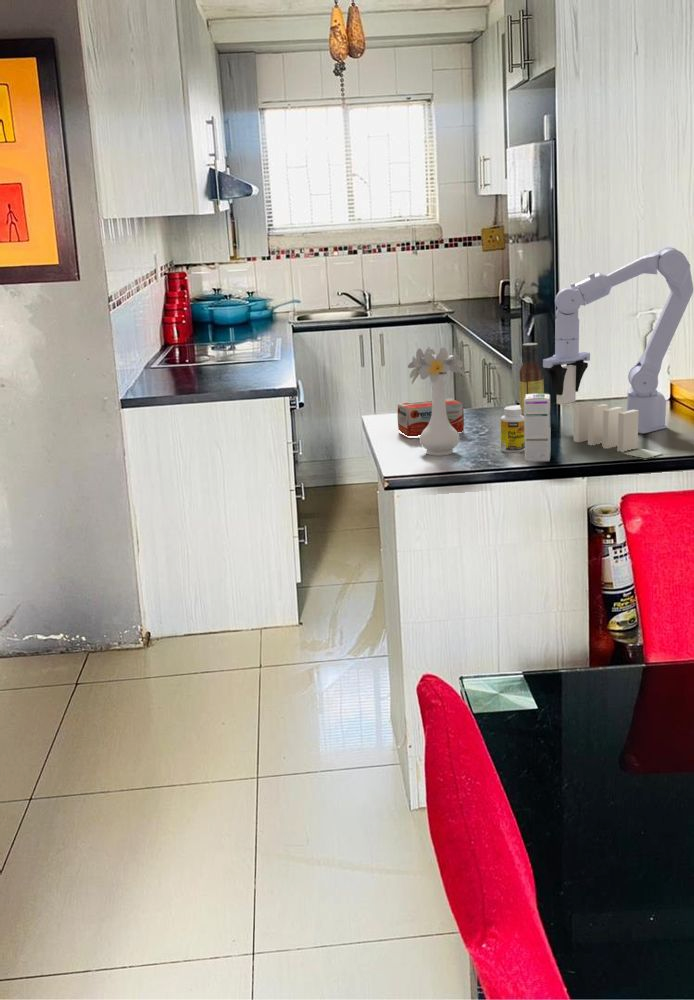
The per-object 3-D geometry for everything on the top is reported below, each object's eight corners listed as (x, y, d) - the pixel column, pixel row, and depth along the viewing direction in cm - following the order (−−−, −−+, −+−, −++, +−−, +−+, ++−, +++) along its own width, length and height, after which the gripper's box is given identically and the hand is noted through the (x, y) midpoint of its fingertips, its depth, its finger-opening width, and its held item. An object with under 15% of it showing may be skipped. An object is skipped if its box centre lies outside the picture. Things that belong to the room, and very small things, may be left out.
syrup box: (550, 461, 237) (550, 398, 233) (523, 461, 238) (523, 398, 234) (550, 455, 243) (551, 393, 238) (524, 455, 244) (524, 393, 240)
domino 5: (617, 451, 243) (618, 412, 241) (631, 447, 246) (633, 409, 244) (622, 452, 242) (624, 413, 240) (637, 448, 245) (638, 410, 242)
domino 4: (602, 447, 247) (603, 410, 244) (616, 444, 250) (617, 406, 247) (607, 448, 246) (608, 411, 243) (622, 445, 248) (623, 407, 246)
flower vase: (449, 441, 260) (447, 339, 253) (477, 458, 243) (476, 349, 235) (398, 446, 257) (395, 343, 249) (424, 464, 240) (421, 354, 232)
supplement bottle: (505, 454, 245) (505, 411, 242) (497, 449, 250) (497, 406, 247) (528, 452, 246) (528, 409, 243) (519, 446, 251) (519, 404, 248)
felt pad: (641, 450, 243) (641, 448, 243) (662, 454, 239) (662, 453, 238) (624, 454, 240) (624, 453, 240) (645, 459, 235) (645, 458, 235)
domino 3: (587, 444, 251) (588, 407, 248) (602, 440, 253) (603, 403, 251) (592, 445, 249) (593, 408, 247) (607, 442, 252) (608, 404, 249)
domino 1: (556, 403, 263) (557, 367, 261) (570, 400, 266) (571, 365, 263) (561, 404, 262) (561, 368, 259) (575, 401, 265) (576, 365, 262)
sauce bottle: (547, 417, 280) (548, 342, 274) (538, 422, 275) (539, 346, 269) (524, 415, 284) (525, 341, 278) (515, 420, 279) (515, 345, 273)
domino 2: (573, 441, 254) (574, 404, 252) (587, 437, 257) (588, 401, 254) (578, 442, 253) (579, 405, 250) (592, 438, 256) (593, 402, 253)
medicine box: (452, 427, 275) (452, 397, 273) (464, 433, 267) (464, 402, 265) (397, 433, 271) (396, 402, 269) (408, 440, 263) (407, 408, 261)
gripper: (575, 333, 266) (574, 386, 270) (534, 340, 258) (533, 395, 262) (596, 335, 261) (595, 390, 265) (555, 343, 253) (554, 398, 257)
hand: (566, 392), depth 263 cm, fingers closed on domino 1, 5 cm apart
